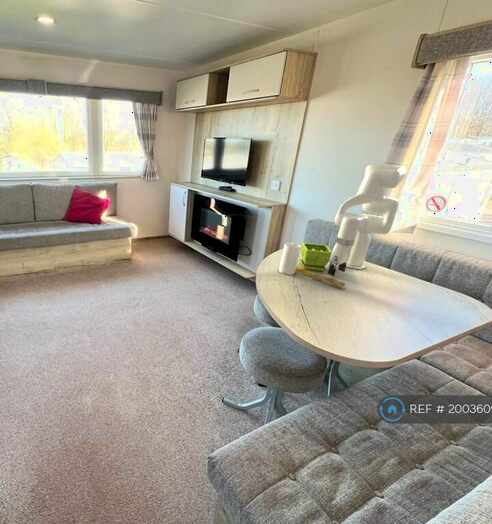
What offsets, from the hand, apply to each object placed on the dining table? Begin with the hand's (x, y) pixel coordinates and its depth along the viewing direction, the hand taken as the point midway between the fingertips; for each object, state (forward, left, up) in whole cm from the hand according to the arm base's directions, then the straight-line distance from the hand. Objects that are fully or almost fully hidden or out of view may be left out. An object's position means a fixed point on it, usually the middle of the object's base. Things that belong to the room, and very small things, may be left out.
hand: (335, 272), depth 161 cm
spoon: (+1, -2, -7) cm, 7 cm away
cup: (+8, -22, -7) cm, 24 cm away
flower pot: (-12, -19, -7) cm, 24 cm away
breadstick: (+1, -17, -7) cm, 18 cm away
